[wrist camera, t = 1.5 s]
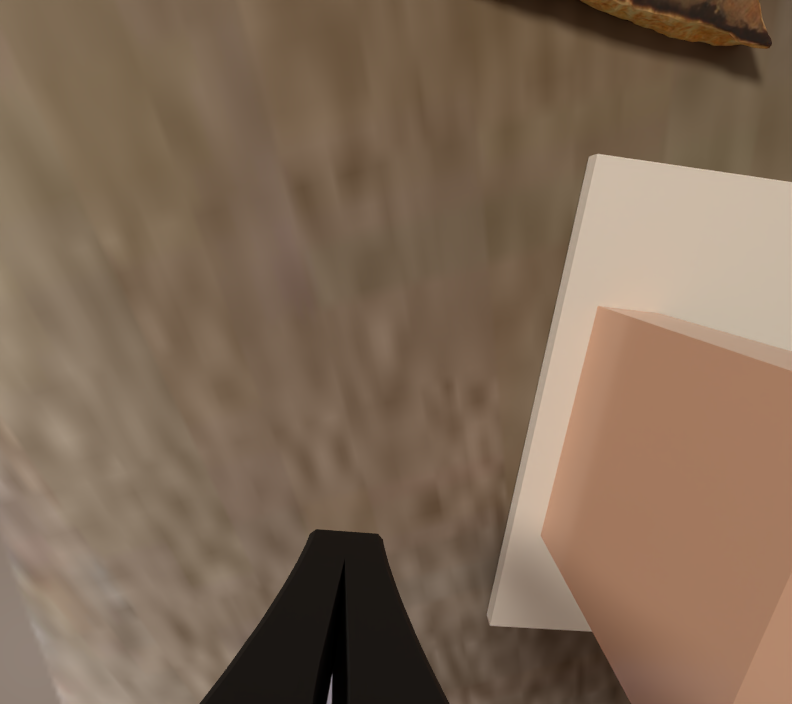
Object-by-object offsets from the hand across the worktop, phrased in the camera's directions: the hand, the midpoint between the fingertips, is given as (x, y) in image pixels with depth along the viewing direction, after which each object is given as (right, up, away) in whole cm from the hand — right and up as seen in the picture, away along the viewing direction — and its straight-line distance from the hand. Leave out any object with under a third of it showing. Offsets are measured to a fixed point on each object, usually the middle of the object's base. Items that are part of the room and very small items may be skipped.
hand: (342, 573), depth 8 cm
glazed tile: (+9, +1, +9) cm, 13 cm away
